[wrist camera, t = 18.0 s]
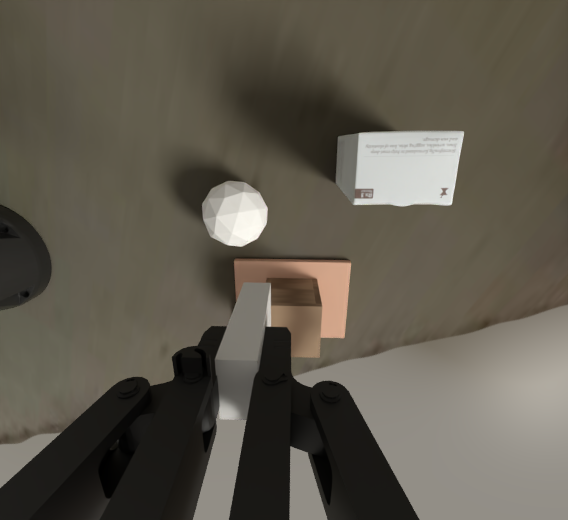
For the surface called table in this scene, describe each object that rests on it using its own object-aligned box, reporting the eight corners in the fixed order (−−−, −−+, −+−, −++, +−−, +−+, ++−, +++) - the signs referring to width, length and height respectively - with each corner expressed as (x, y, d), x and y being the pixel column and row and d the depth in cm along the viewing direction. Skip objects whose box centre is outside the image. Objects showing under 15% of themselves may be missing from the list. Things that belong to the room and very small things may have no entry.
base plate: (239, 331, 46) (237, 335, 45) (235, 258, 42) (234, 260, 41) (343, 334, 46) (344, 337, 45) (349, 260, 42) (351, 262, 41)
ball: (233, 193, 42) (212, 157, 34) (283, 215, 40) (273, 182, 32) (204, 239, 40) (176, 213, 33) (255, 264, 38) (237, 242, 31)
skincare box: (403, 135, 36) (473, 125, 22) (397, 186, 38) (458, 206, 24) (333, 136, 36) (358, 126, 22) (331, 187, 38) (353, 207, 24)
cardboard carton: (267, 321, 44) (262, 356, 37) (266, 277, 42) (261, 305, 34) (314, 322, 44) (319, 357, 36) (316, 278, 42) (322, 306, 34)
